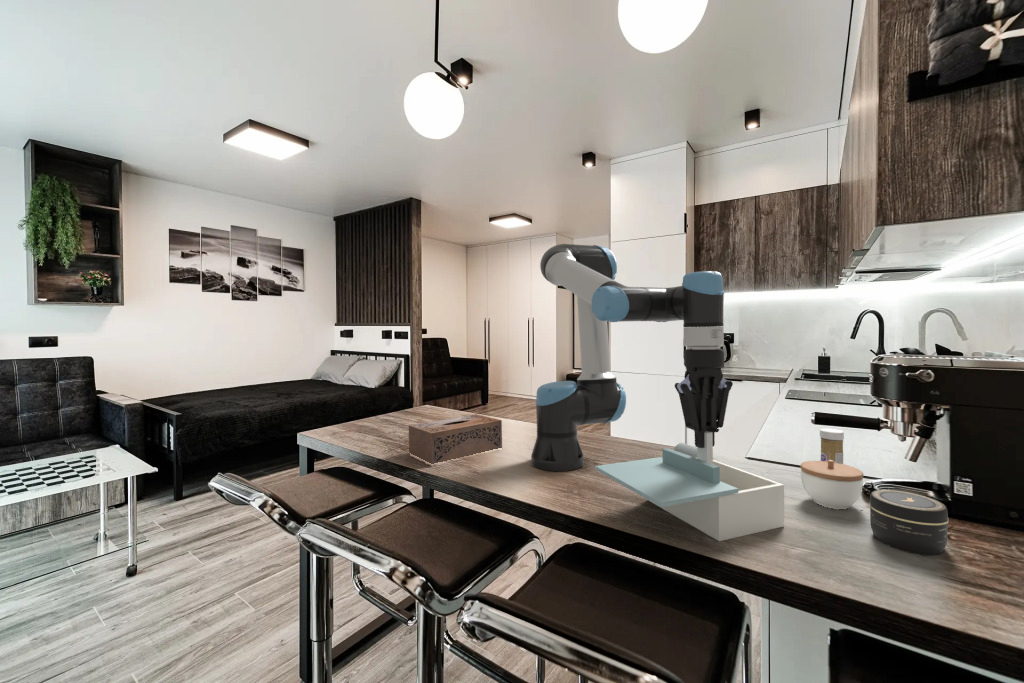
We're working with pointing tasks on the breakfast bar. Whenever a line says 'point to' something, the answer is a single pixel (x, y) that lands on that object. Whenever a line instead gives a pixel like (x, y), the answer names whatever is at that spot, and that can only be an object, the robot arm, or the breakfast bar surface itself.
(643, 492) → the lid
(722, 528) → the box
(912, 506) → the jar
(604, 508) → the breakfast bar surface
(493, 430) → the tissue box cover
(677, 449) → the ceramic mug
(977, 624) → the breakfast bar surface
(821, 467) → the lidded jar
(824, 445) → the sprinkles bottle
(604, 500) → the breakfast bar surface
